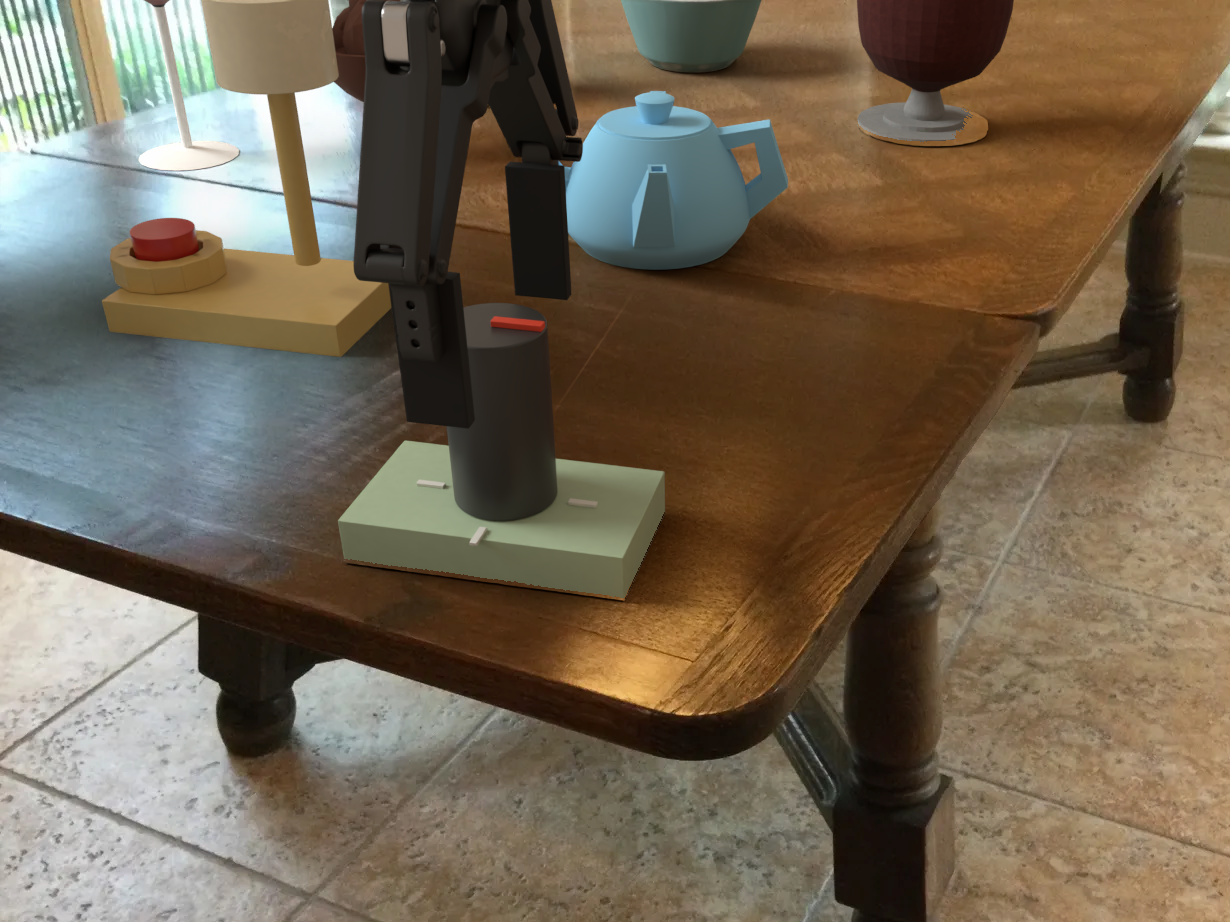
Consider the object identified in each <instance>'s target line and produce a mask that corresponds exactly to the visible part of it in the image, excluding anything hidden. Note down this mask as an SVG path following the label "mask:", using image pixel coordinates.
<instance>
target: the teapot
mask: <svg viewBox="0 0 1230 922" xmlns="http://www.w3.org/2000/svg"><path fill="white" fill-rule="evenodd" d="M634 101H635V105H634V106H628V107H623V108H622V107H621V108H617V109H614V110H611V111H608V112H606V113H604V114H603V115H602V116H601V117H599V118H598V119H597V121H596V122H595V124H594V125H593V127H591V129H590V131H589V133H588V134H587V136H586V137H585V139H584V141H583V153H582V158H581V160H580V162H573V161H572V164H571V167H570V166H564V165H563V164H562V163H561V161H560V160H559V165H562V166H564V168H565V186H566V204H567V222H568V236H570V238H571V239H573V241H574V242H575V243H576V244H577V245H578V246H579V247H580V248H581V249H582V250H583V251H584V252H585V253H586V254H587V255H589V256H590V257H592V258H593V259H595V260H598V261H601V262H603V263H605V264H609V265H612V266H615V267H616V266H618V267H620V268H621V267H622V268H628V269H636V270H651V271H652V270H653V271H656V270H657V271H659V270H676V269H685V268H686V269H687V268H692V267H695V266H700V265H704V264H707V263H710V262H713V261H715V260H716V259H719V258H720V257H722V256H724V255H725V254H727V253H728V251H730V249H731V248H733V246H734V245H735V244H736V243H737V242H738V241H739V239H741V237H742V236H743V235H744V233H745V232H746V230H747V228H748V226H749V223H750V220H751V219H752V218H753V217H755V216H756V215H757V214H758V213H759V212H761V211H762V210H763V209H764V208H766V207H767V206H768V205H769V204H771V202H773V201H774V200H775V199H776V198H777V197H778V196H780V195H781V194H782V193H783V192H784V191H786V190H787V189H788V188H789V178H788V174H787V171H786V168H785V164H784V161H783V158H782V154H781V151H780V149H779V145H778V142H777V138H776V135H775V131H774V128H773V125H772V120H771V119H770V118H769V119H762V120H758V121H751V122H746V123H745V122H744V123H739V124H733V125H732V124H731V125H726V126H721V127H717V125H716V124H715V123H714V121H713V120H712V119H711V117H709V116H708V115H706V114H705V113H703V112H701V111H699V110H695V109H692V108H689V107H683V106H675V105H674V104H675V96H673V95H671V94H669V93H667V91H665V90H650V91H649V92H643V93H641V94H637V95H636V96H635V97H634ZM750 144H754V147H755V152H756V156H757V160H758V167H759V172H760V173H759V174H758V175H756V176H754V177H753V178H752V179H751V180H750V181H749V182H747V183H746V182H745V178H744V175H743V173H742V170H741V167H740V165H739V163H738V161H737V159H736V157H735V155H734V153H733V151H732V150H733V149H736V148H739V147H744V146H747V145H750Z"/></svg>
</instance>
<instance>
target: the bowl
mask: <svg viewBox="0 0 1230 922" xmlns="http://www.w3.org/2000/svg"><path fill="white" fill-rule="evenodd" d="M620 2H621V5H622V8H623V11H624V15H625V17H626V21H627V23H628V26H629V28H630V32H631V34H632V37H633V40H634V42H635V45H636V48H637V50H638V53H639V54H640V55H641V56H642V57H643V58H644V59H645V60H647V61H648V62H649V63H650V64H651V65H652V66H653V67H656V68H657V69H661V70H663V71H669V72H676V73H685V74H687V73H688V74H690V73H691V74H698V73H709V72H716V71H720V70H723V69H726V68H728V67H729V66H731V65H732V64H733V63H734V62H735V61H736V60H737V59H738V58H739V57H740V56H741V55H742V54H743V53H744V51H745V48H746V45H747V42H748V40H749V37H750V34H751V32H752V30H753V26H754V23H755V21H756V18H757V15H758V12H759V10H760V7H761V3H762V0H620Z"/></svg>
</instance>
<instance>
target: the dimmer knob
mask: <svg viewBox="0 0 1230 922" xmlns="http://www.w3.org/2000/svg"><path fill="white" fill-rule="evenodd" d="M463 309H464V319H465V328H466V338H467V348H468V357H469V367H470V377H471V386H472V396H473V406H474V415H475V421H474V422H473V424H472V425H471V426H470V427H469V429H467V428H458V427H449V426H445V428H446V434H447V444H448V445H447V446H449V454H450V463H451V472H452V481H453V490H454V498H455V502H456V504H457V505H458V507H459V508H460V509H461V510H462V511H464V512H465V513H467V514H469V515H471V516H474V517H476V518H480V519H485V520H493V521H509V520H517V519H522V518H526V517H529V516H532V515H535V514H537V513H539V512H541V511H543V510H545V509H546V508H547V507H549V506H550V505H551V504H552V503H553V501H554V500H555V498H556V496H557V492H558V490H557V473H556V459H557V458H556V457H557V456H556V441H555V425H554V410H553V409H554V407H553V393H552V377H551V376H552V375H551V360H550V346H549V345H550V344H549V328H548V321H547V318H546V317H545V316H544V315H543V313H541V312H540V311H538V310H536V309H534V308H532V307H529V306H525V305H522V304H517V303H507V302H487V303H478V304H472V305H467V306H463Z"/></svg>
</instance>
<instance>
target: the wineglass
mask: <svg viewBox="0 0 1230 922" xmlns="http://www.w3.org/2000/svg"><path fill="white" fill-rule="evenodd" d="M143 1H144V2H146V3H148V4H150V5H151V6H152V7H153V11H154V15H155V20H156V25H157V26H156V27H157V30H158V34H159V40H160V45H161V49H162V54H163V55H162V56H163V59H164V64H165V69H166V73H167V79H168V84H169V88H170V93H171V98H172V103H173V107H174V112H175V113H174V114H175V118H176V122H177V126H178V133H179V137H180V142H172V143H168V144H164V145H160V146H156V147H153V148H150V149H148V150H146V151H144V152H143V153H142V154H140V156H139V158H138V162H139V163H140V165H142V166H144V167H147V168H148V169H154V170H159V171H173V172H174V171H175V172H177V171H193V170H200V169H206V168H207V169H208V168H212V167H215V166H220V165H223V164H226V163H228V162H230V161H232V160H234V159H235V158H236V157H238V156H239V154H240V149H239V148H238V147H237V146H236V145H234V144H231V143H229V142H223V141H216V140H192V135H191V131H190V130H191V129H190V125H189V120H188V116H187V111H186V106H185V101H184V96H183V91H182V87H181V81H180V77H179V71H178V66H177V62H176V57H175V52H174V47H173V42H172V36H171V32H170V27H169V23H168V17H167V12H166V7H165V6H166V4H167V3H168V2H169V1H170V0H143Z"/></svg>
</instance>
